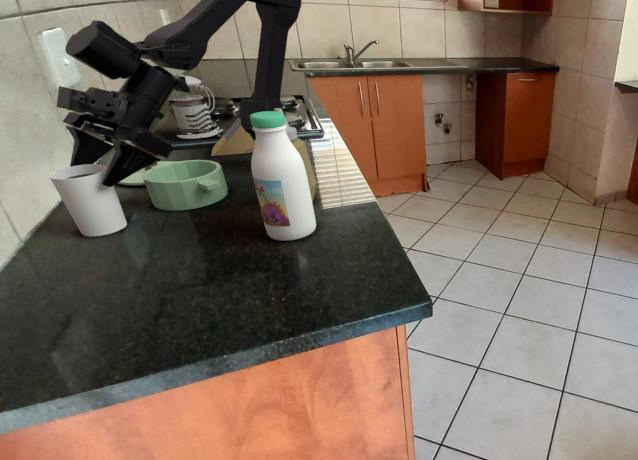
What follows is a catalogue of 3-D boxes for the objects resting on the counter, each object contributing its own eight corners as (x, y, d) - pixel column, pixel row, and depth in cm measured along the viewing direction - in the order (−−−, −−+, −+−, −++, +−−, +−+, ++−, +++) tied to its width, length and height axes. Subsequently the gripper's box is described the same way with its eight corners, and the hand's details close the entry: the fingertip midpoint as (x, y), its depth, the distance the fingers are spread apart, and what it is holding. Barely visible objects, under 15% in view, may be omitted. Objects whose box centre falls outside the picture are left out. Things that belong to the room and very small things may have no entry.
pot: (195, 178, 91) (187, 153, 88) (250, 196, 84) (243, 170, 82) (130, 198, 81) (119, 170, 78) (187, 219, 75) (176, 190, 72)
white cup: (139, 218, 74) (117, 164, 69) (113, 237, 68) (87, 179, 64) (96, 219, 73) (71, 164, 68) (66, 238, 67) (36, 179, 63)
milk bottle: (306, 216, 78) (284, 106, 68) (324, 232, 73) (303, 115, 64) (260, 229, 73) (229, 111, 63) (276, 247, 68) (246, 123, 59)
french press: (167, 135, 115) (133, 34, 103) (207, 125, 125) (180, 32, 113) (195, 140, 112) (163, 37, 101) (233, 130, 122) (208, 35, 110)
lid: (169, 161, 98) (161, 138, 95) (204, 173, 93) (197, 148, 91) (101, 179, 88) (89, 153, 85) (137, 193, 83) (126, 165, 80)
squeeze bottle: (302, 213, 79) (282, 116, 70) (264, 207, 80) (240, 111, 71) (328, 196, 86) (312, 106, 77) (292, 191, 87) (273, 102, 78)
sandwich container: (213, 146, 109) (195, 85, 102) (279, 140, 116) (267, 83, 109) (210, 156, 103) (191, 92, 95) (281, 150, 109) (268, 89, 102)
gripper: (52, 58, 67) (-10, 143, 63) (122, 71, 61) (58, 167, 57) (128, 101, 77) (79, 177, 73) (195, 116, 71) (144, 200, 67)
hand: (88, 180), depth 67 cm, fingers open, 9 cm apart
